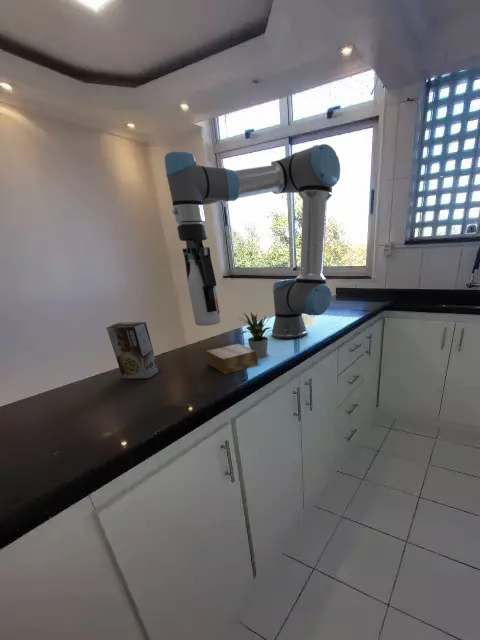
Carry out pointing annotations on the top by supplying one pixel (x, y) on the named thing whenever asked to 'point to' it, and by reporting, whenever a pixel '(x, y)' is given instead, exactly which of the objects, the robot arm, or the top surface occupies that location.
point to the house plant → (257, 335)
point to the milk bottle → (200, 297)
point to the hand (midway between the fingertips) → (206, 309)
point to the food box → (133, 349)
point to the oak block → (232, 358)
